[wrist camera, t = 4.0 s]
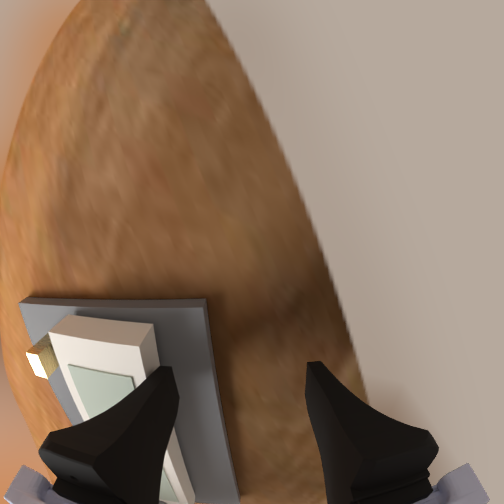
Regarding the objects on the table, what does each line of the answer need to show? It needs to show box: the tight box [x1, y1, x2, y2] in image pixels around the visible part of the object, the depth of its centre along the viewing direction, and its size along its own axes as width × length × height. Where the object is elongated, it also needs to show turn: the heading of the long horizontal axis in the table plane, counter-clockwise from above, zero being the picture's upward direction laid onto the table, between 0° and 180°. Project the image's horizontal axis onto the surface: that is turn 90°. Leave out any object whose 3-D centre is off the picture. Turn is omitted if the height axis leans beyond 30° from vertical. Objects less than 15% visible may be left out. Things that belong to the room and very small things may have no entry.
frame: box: [48, 314, 195, 504], centre depth 13 cm, size 18×5×2 cm, turn 179°
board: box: [19, 297, 240, 504], centre depth 14 cm, size 21×12×4 cm, turn 3°
